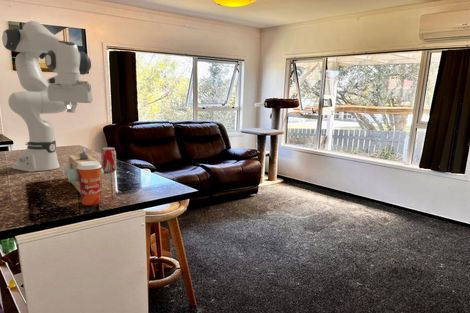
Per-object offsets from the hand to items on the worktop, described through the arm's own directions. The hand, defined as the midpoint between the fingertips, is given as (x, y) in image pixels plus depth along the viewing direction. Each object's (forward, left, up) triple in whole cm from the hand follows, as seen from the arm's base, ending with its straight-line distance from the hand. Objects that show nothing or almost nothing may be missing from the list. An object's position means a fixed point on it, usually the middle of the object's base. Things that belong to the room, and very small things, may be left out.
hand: (71, 112), depth 144 cm
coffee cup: (+26, -24, -31) cm, 47 cm away
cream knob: (+5, -3, -26) cm, 27 cm away
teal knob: (+15, -12, -26) cm, 32 cm away
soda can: (+4, +20, -31) cm, 37 cm away
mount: (+11, -7, -31) cm, 33 cm away
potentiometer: (+11, -7, -19) cm, 23 cm away
